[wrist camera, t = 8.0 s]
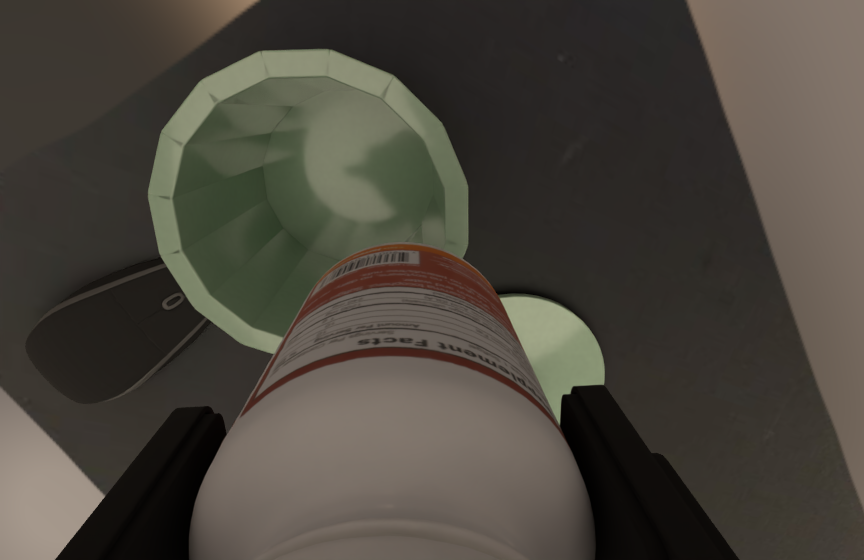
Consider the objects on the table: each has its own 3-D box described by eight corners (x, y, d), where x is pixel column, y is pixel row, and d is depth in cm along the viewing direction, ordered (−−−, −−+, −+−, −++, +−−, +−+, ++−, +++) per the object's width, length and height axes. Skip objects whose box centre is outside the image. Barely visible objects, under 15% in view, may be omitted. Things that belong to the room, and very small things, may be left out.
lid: (413, 293, 33) (414, 328, 28) (606, 286, 34) (643, 320, 28) (420, 456, 38) (421, 514, 32) (591, 448, 38) (621, 504, 32)
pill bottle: (432, 455, 17) (460, 1047, 6) (263, 363, 15) (-62, 908, 5) (548, 308, 15) (852, 758, 5) (372, 192, 14) (237, 451, 3)
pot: (238, 76, 29) (118, 53, 17) (445, 71, 29) (468, 45, 17) (265, 274, 33) (181, 367, 21) (448, 267, 33) (469, 355, 21)
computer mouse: (240, 321, 34) (218, 348, 30) (96, 406, 35) (58, 441, 31) (170, 232, 32) (137, 248, 28) (21, 326, 33) (-30, 354, 29)
